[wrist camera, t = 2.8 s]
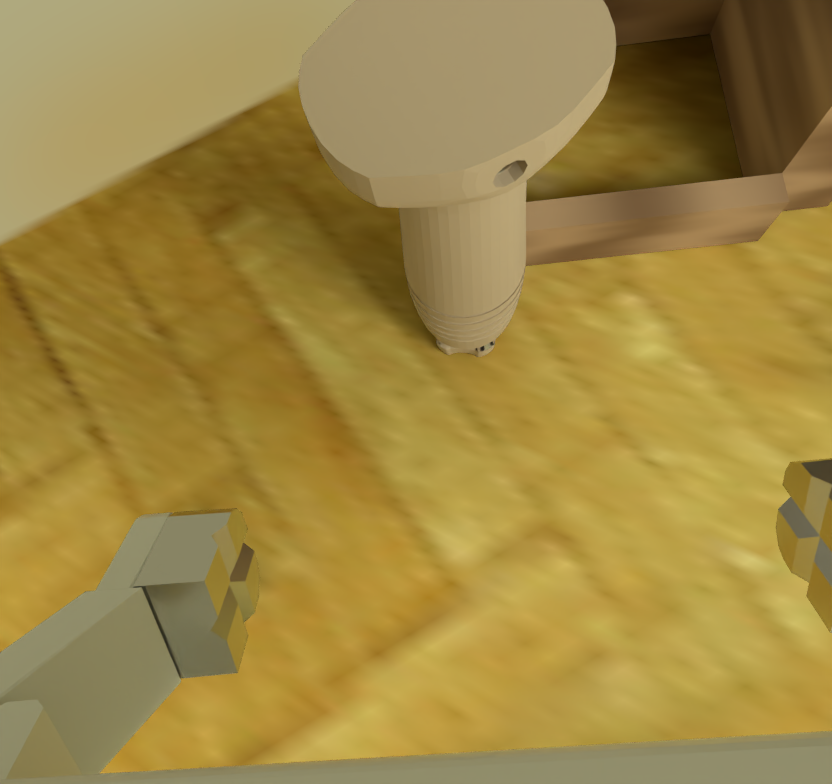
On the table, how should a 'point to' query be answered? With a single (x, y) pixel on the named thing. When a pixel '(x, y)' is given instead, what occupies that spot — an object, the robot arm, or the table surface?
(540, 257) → the wooden frame stand
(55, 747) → the robot arm
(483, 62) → the handle
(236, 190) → the table surface
